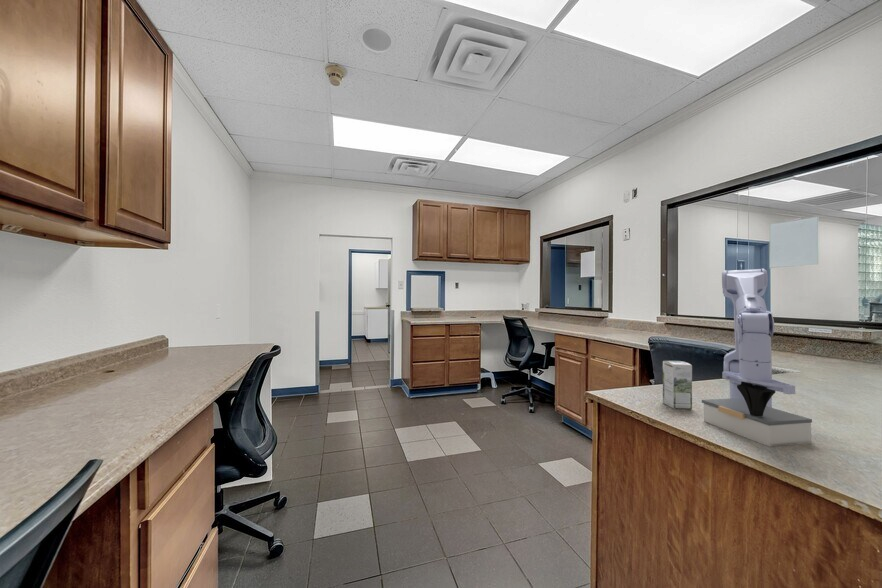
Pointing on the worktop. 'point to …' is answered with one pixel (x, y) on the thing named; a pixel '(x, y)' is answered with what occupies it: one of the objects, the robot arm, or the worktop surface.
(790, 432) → the storage box
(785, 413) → the lid
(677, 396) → the syrup box
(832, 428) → the worktop surface
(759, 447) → the worktop surface
